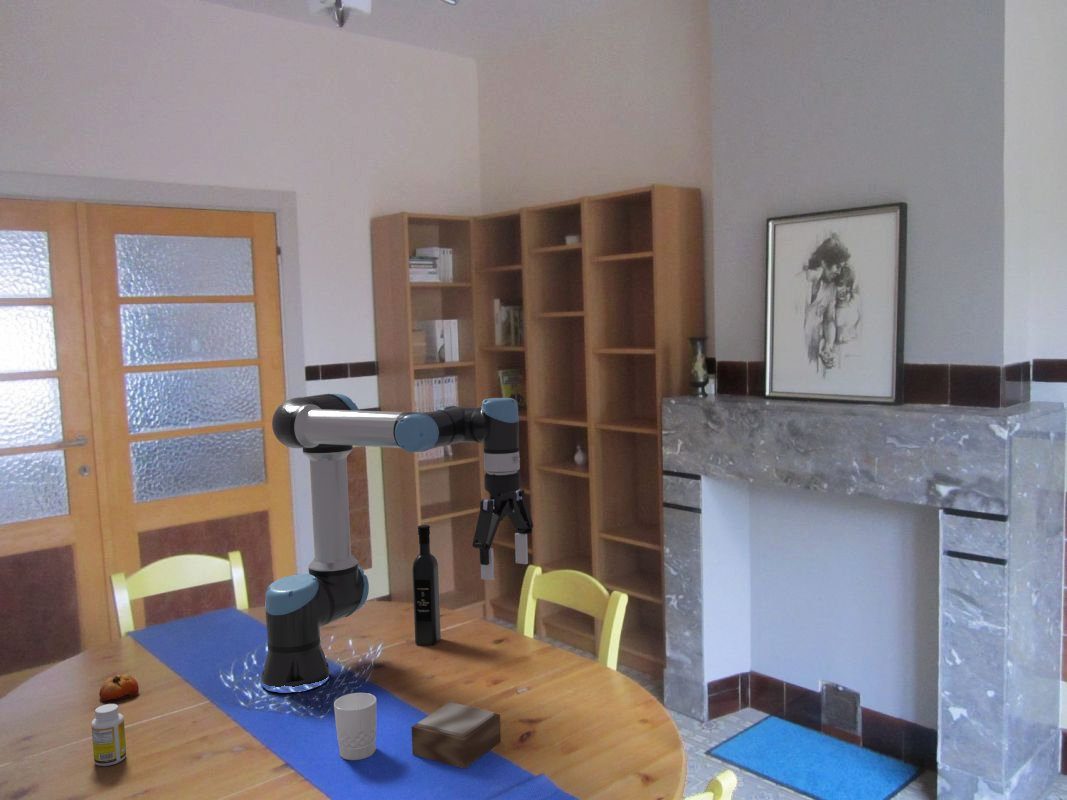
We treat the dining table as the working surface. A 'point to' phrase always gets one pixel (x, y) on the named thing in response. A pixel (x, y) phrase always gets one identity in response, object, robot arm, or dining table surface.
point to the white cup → (356, 725)
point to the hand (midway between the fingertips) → (505, 571)
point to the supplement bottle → (108, 735)
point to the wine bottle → (426, 592)
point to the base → (456, 734)
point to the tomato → (118, 687)
